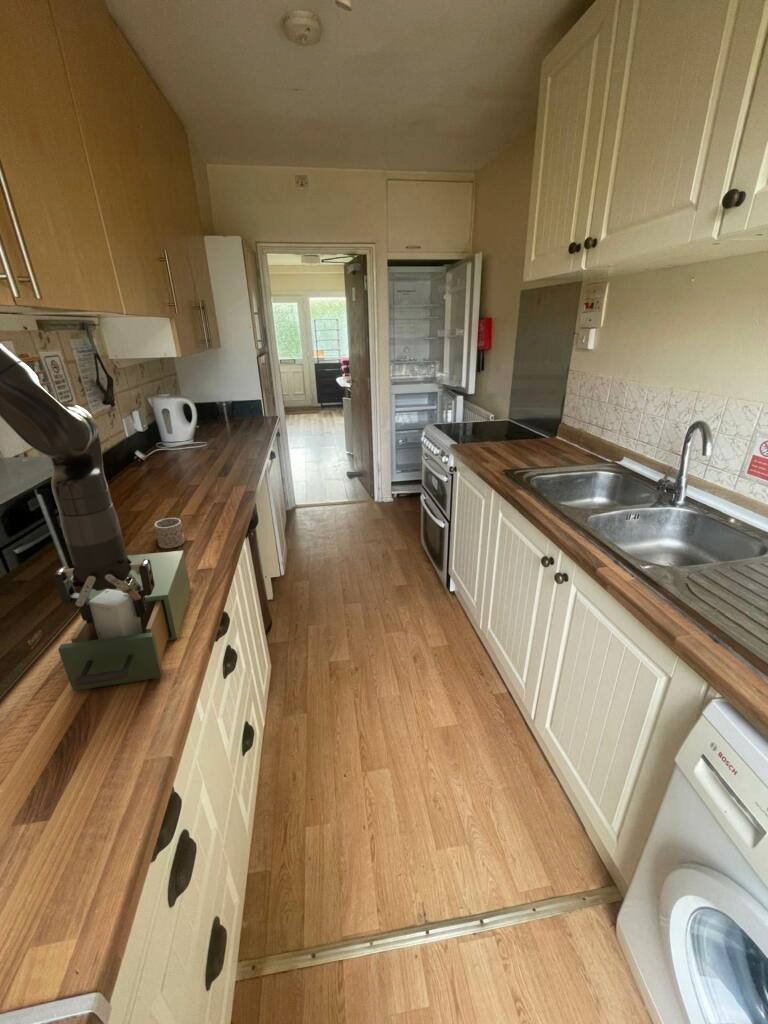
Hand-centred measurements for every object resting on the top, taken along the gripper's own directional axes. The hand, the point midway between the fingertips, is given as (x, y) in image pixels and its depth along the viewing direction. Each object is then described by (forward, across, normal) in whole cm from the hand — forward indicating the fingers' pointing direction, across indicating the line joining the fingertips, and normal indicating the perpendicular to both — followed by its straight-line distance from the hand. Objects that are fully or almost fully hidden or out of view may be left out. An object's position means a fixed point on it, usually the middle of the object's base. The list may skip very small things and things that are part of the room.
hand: (116, 617), depth 75 cm
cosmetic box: (+8, 0, 0) cm, 8 cm away
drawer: (+9, 0, 0) cm, 9 cm away
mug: (+10, +2, -49) cm, 51 cm away
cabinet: (+10, 0, -13) cm, 17 cm away
